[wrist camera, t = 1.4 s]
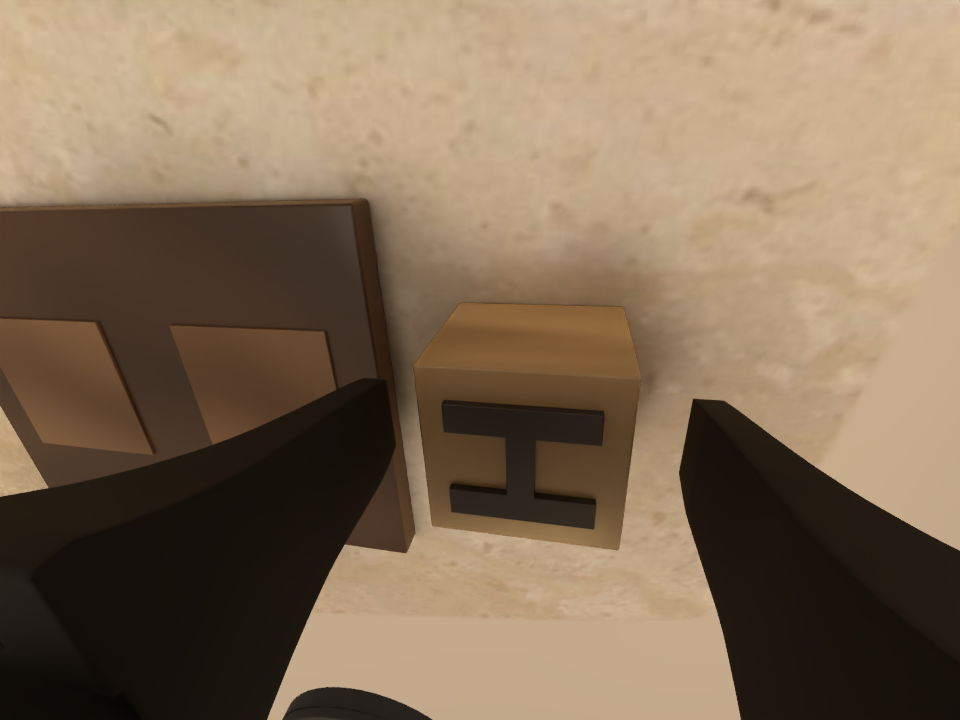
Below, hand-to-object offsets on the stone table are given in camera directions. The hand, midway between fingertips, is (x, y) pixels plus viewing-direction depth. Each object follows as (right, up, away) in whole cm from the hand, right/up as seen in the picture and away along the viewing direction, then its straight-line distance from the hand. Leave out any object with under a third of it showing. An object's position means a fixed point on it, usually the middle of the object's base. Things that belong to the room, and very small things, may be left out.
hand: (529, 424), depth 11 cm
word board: (-12, +1, +5) cm, 13 cm away
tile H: (0, +1, +2) cm, 3 cm away
